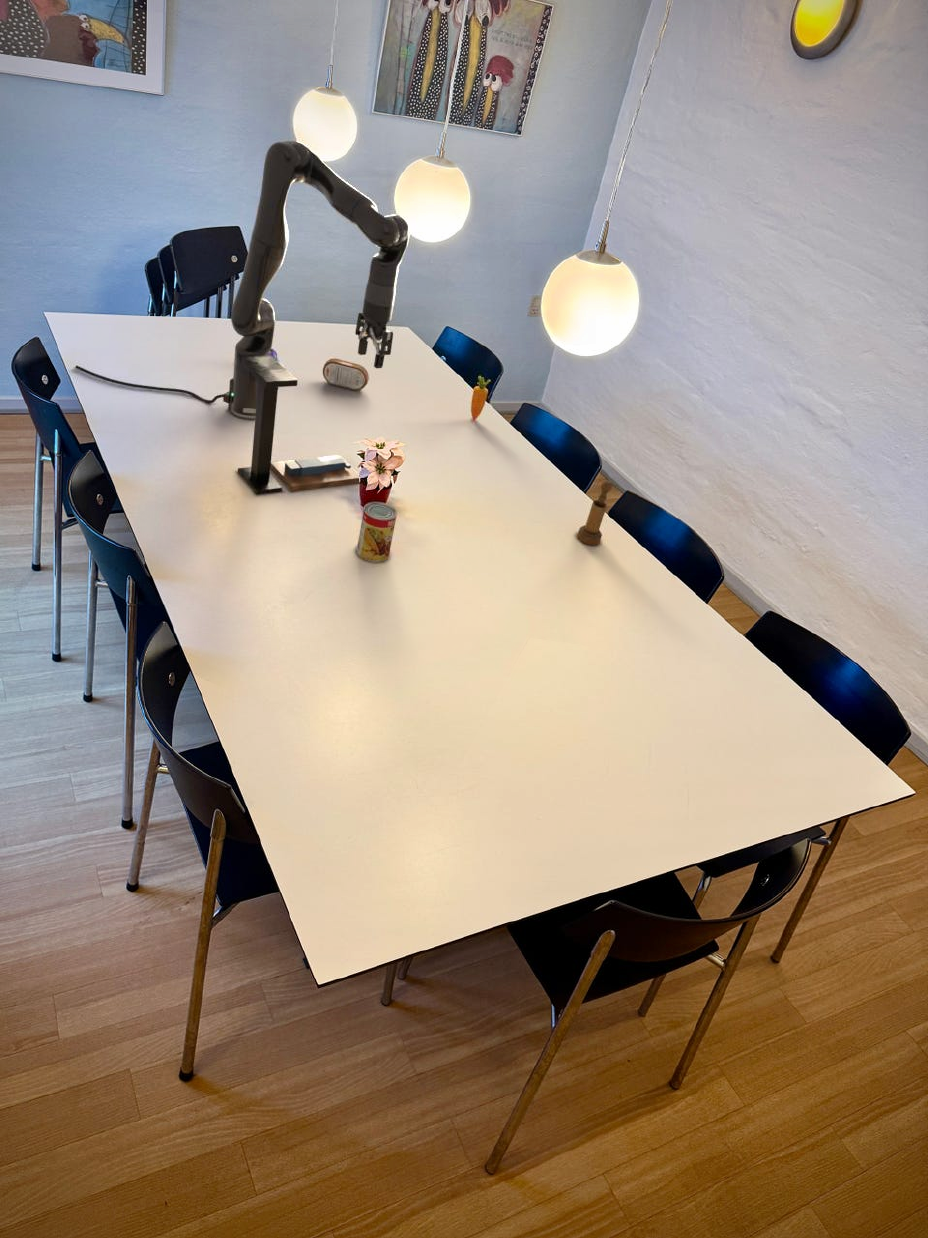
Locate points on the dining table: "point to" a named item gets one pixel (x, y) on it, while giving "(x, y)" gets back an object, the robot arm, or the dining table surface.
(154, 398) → the dining table surface
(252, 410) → the robot arm
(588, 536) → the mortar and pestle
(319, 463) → the stepped blue block
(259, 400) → the stand
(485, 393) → the carrot
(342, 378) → the tin
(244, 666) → the dining table surface
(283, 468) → the board
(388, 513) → the canned food
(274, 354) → the pudding
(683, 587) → the dining table surface
